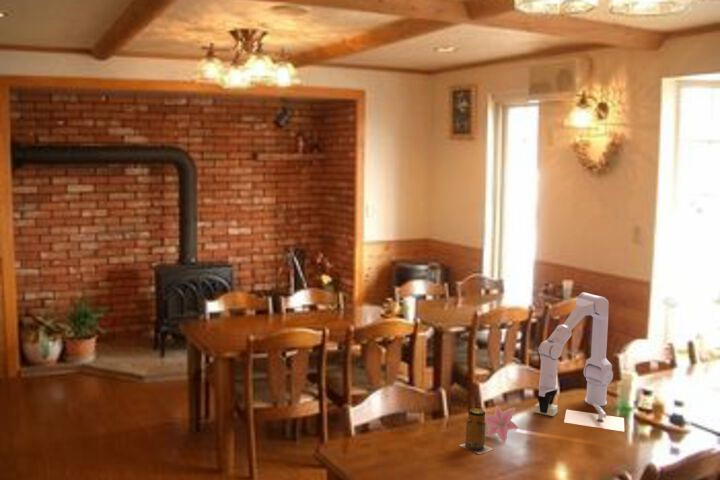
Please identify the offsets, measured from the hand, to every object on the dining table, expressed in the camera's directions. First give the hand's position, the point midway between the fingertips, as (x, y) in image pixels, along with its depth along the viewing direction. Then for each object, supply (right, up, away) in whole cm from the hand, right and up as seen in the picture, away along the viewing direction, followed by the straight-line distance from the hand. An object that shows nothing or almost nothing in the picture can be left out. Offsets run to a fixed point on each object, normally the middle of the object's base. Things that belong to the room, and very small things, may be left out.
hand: (545, 410), depth 266 cm
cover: (0, -1, 0) cm, 1 cm away
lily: (-21, -4, -21) cm, 30 cm away
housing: (+16, -3, -5) cm, 17 cm away
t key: (+18, -2, -4) cm, 19 cm away
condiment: (-30, -5, -32) cm, 44 cm away
